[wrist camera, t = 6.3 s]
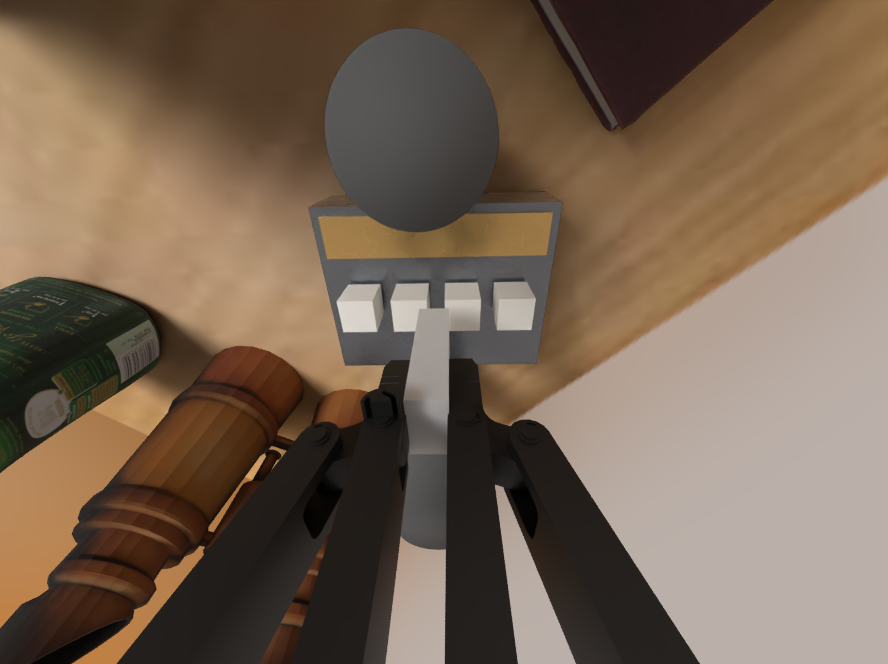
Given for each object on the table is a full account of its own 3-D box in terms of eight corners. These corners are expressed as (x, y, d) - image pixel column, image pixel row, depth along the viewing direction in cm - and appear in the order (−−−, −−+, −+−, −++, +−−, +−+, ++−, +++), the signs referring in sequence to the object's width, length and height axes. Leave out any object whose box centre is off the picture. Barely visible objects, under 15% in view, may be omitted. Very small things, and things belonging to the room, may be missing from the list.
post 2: (418, 345, 27) (393, 508, 15) (464, 344, 27) (477, 508, 15) (421, 381, 29) (401, 549, 17) (464, 381, 29) (475, 549, 17)
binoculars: (413, 409, 31) (369, 737, 14) (380, 456, 35) (315, 759, 18) (217, 330, 27) (-192, 671, 10) (204, 394, 31) (-106, 718, 13)
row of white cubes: (348, 284, 20) (336, 301, 18) (526, 281, 19) (535, 298, 17) (353, 313, 21) (343, 332, 19) (523, 310, 20) (531, 329, 18)
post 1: (399, 100, 18) (305, 31, 6) (468, 99, 18) (505, 24, 6) (404, 177, 20) (342, 233, 8) (467, 176, 20) (493, 231, 8)
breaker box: (331, 196, 21) (306, 208, 17) (543, 191, 21) (563, 202, 17) (358, 336, 27) (344, 367, 23) (525, 334, 26) (537, 365, 23)
